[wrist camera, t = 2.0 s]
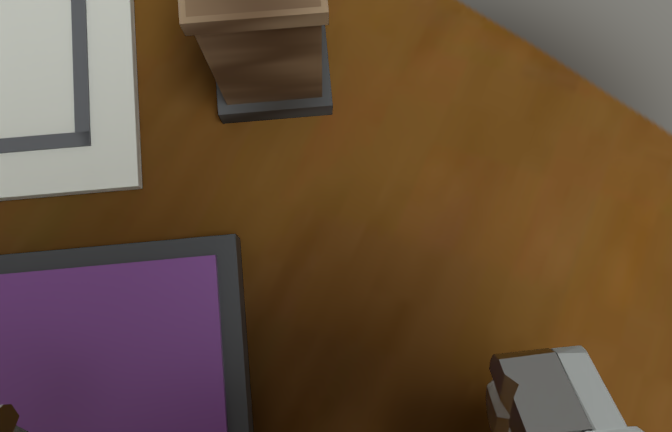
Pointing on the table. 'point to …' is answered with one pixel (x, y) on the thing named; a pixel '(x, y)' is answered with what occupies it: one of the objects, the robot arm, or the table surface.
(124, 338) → the ink pad
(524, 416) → the robot arm
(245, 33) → the stamp
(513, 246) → the table surface
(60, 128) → the print card
